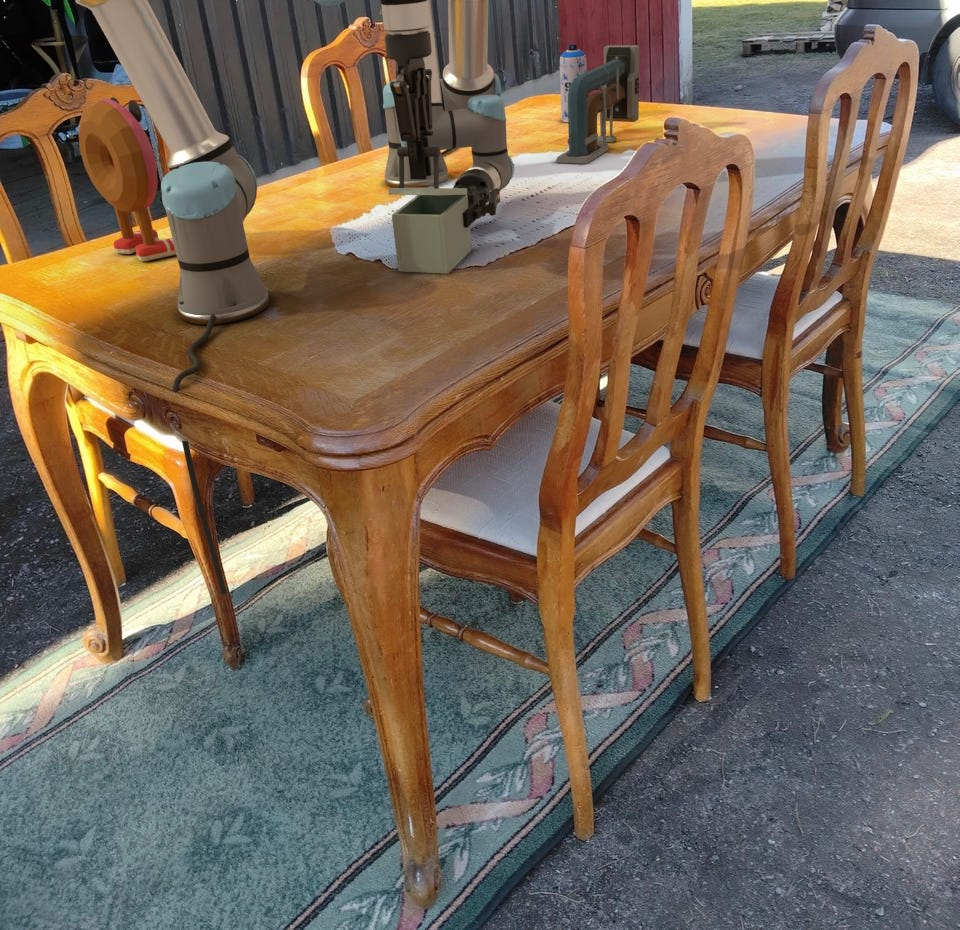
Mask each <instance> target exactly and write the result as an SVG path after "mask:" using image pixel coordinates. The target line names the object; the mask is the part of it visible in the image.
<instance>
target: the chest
mask: <svg viewBox="0 0 960 930" xmlns="http://www.w3.org/2000/svg"><path fill="white" fill-rule="evenodd" d="M467 209H468V197H467V195H415V196H414V197H413V198H411V199H410V200H409V201H408V202H406V203H405V204H404V205H402V207H399V208H398V209H397V210H396V211H394V212H393V213H392V214H391V221H392V222H391V223H392V230H393V238H394V246H395V253H396V262H397V271H398V272H402V273H427V274H449V273H451V271H453V269H455V267H456V266H457V265H459V263H460V262H461V261H462V260H464V258H465V257H467V255H468V254H469V253H470V252H471V251H472V250H473V248H472V237H471V236H472V234H471V225H470V226H469V227H468V228H465V227H464V223H463V212H464V211H465V210H467Z"/></svg>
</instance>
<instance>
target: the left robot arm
mask: <svg viewBox="0 0 960 930" xmlns="http://www.w3.org/2000/svg"><path fill="white" fill-rule="evenodd" d="M74 1H75V3H76V4H77V5H80V6H82V7H85V8H87V9H88V10H90V11H91V12H92V15H93V16H94V18H95V20H96V22H97V23H98V25H99V27H100V29H101V31H102V32H103V34H104V36H105V37H106V39H107V41H108V43H109V44H110V46H111V49H112V51H113V52H114V54H115V56H116V58H117V59H118V61H119V64H120V65H121V67H122V68H123V70H124V72H125V73H126V76H127V77H128V80H129V81H130V83H131V84H132V87H133V88H134V90H135V92H136V93H137V96H138V97H139V99H140V101H141V103H142V105H143V106H144V108H145V110H146V112H147V113H148V116H149V117H150V119H151V120H152V123H153V124H154V126H155V128H156V129H157V132H158V133H159V135H160V137H161V139H162V141H163V142H164V144H165V146H166V148H167V150H168V151H169V157H168V161H167V165H166V166H167V168H168V170H169V172H167V173H166V174H165V175H164V176H163V178H162V180H161V182H160V191H161V200H162V205H163V207H164V209H165V214H166V217H167V221H168V226H169V230H170V234H171V238H173V242H174V246H175V250H176V255H175V256H176V258H177V262H178V266H179V283H178V294H177V310H178V314H179V318H180V319H182V320H183V321H184V322H186V323H189V324H193V325H202V326H203V325H204V326H205V325H206V328H205V331H204V332H203V334H202V335H201V336H200V337H199V338H198V339H196V340H195V341H194V342H193V343H192V344H190V346H189V347H188V349H187V355H188V358H189V359H190V360H191V361H192V363H193V366H192V367H190V368H187V369H184V370H183V371H181V372H180V373H179V374H177V376H175V378H174V380H173V384H172V389H171V391H172V393H177V392H178V391H180V385H181V383H182V381H183V379H185V378H186V377H189V376H190V375H194V374H196V373H197V372H198V371H199V370H200V367H201V361H200V360H199V358H198V357H197V355H196V354H195V350H196V349H197V348H198V347H199V346H201V345H202V344H203V343H204V342H205V341H206V340H207V339H209V337H210V335H211V333H212V330H213V327H214V325H222V324H230V323H233V322H239V321H241V320H245V319H248V318H251V317H253V316H256V315H258V314H260V312H263V311H264V310H265V309H266V308H267V307H268V306H269V305H270V296H269V291H268V289H267V287H266V284H265V283H264V282H263V280H262V278H261V276H260V274H259V272H258V270H257V269H256V267H255V265H254V264H253V262H252V260H251V257H250V251H249V246H248V241H247V236H246V232H245V227H244V222H245V220H246V217H247V216H248V215H249V214H250V213H251V211H252V210H253V207H254V206H255V203H256V199H257V196H258V195H257V194H258V181H257V178H256V173H255V171H254V169H253V168H252V166H251V164H250V163H249V161H247V160H246V159H245V158H244V157H243V156H241V155H240V154H238V151H237V150H236V148H235V147H234V144H233V142H232V141H231V139H230V137H229V136H228V135H226V134H224V133H222V132H219V131H217V130H216V129H215V127H214V125H213V123H212V121H211V120H210V118H209V116H208V113H207V112H206V110H205V108H204V106H203V104H202V103H201V102H202V101H201V100H200V98H199V97H198V95H197V93H196V91H195V89H194V87H193V85H192V83H191V81H190V79H189V77H188V76H187V74H186V72H185V70H184V68H183V66H182V63H181V62H180V60H179V58H178V56H177V54H176V52H175V51H174V49H173V46H172V44H171V43H170V41H169V40H168V38H167V35H166V33H165V32H164V30H163V28H162V26H161V24H160V22H159V20H158V18H157V16H156V14H155V12H154V10H153V9H152V6H151V4H150V3H149V1H148V0H74ZM305 1H306V2H314V3H316V4H319V5H320V6H324V7H337V6H340V5H342V4H344V3H345V2H346V1H347V0H305ZM380 4H381V5H380V6H381V10H380V11H379V15H380V16H381V17H382V25H383V31H386V32H387V33H386V34H385V35H384V46H385V54H386V55H385V56H386V57H387V59H388V60H394V61H395V79H396V81H393V80H391V81H389V82H390V88H391V91H392V94H393V98H394V103H395V109H396V115H397V121H398V127H399V133H400V138H401V141H407V148H408V158H409V168H410V177H411V179H420V180H425V179H427V177H426V176H431V165H430V157H425V156H424V147H429V143H428V137H427V136H432V135H433V131H429V130H432V98H431V79H432V70H431V69H425V63H424V59H423V58H424V57H428V56H429V55H431V53H432V49H431V37H430V33H429V31H427V30H426V28H428V27H429V26H430V22H429V12H428V1H427V0H380ZM181 444H182V448H183V454H184V458H185V463H186V467H187V472H188V475H189V479H190V483H191V487H192V493H193V496H194V500H195V503H196V507H197V510H198V514H199V517H200V522H201V525H202V528H203V532H204V536H205V539H206V543H207V546H208V550H209V554H210V558H211V561H212V564H213V565H212V566H213V568H214V572H215V576H216V579H217V583H218V587H219V590H220V594H221V595H226V594H227V589H226V588H227V587H226V585H225V580H224V577H223V574H222V569H221V566H220V561H219V558H218V554H217V550H216V546H215V543H214V539H213V536H212V533H211V529H210V526H209V525H210V524H209V522H208V517H207V514H206V511H205V507H204V503H203V499H202V495H201V491H200V487H199V484H198V483H199V482H198V479H197V475H196V471H195V466H194V462H193V457H192V454H191V448H190V442H189V440H181Z"/></svg>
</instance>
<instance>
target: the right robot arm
mask: <svg viewBox="0 0 960 930" xmlns="http://www.w3.org/2000/svg"><path fill="white" fill-rule="evenodd" d="M427 1H428V12H429V22H430V26H429V27H428V28H426V30H427V31H429V33H430V37H431V49H432V53H431V55H429V56H428V57H424V58H423V59H424V63H425V69H431V70H432V79H431V98H432V130H429V131H433V135H432V136H427V137H428V143H429V147H440V151H441V153H440V156H439V185H440V184H443V183H445V182H446V181H448V180H449V178H450V176H449V175H450V174H449V169H448V166H447V163H446V160H445V159H444V155H445V154H448V153H449V152H451V151H452V150H454V149H455V150H456V149H464V148H471V155H472V166H471V167H469V168H468V169H467V170H465V171H464V172H463V173H462V174H461V175H459V176H458V177H457V178H456V180H455V183H454V185H453V186H452V188H467V197H468V209H467V210H465V211H464V212H463V223H464V227H465V228H468V227H469V226H470V227H471V225H472V224H473V223H474V222H475V221H476V220H479V219H481V218H482V217H485V216H486V215H487V214H489V216H492V217H493V216H495V215H497V207H498V205H499V204H500V203H501V191H502V190H503V189H505V188H506V187H507V186H508V185H509V184H510V181H511V180H512V179H513V177H514V174H515V164H514V162H513V160H512V158H511V156H510V155H509V150H508V142H507V141H508V140H507V117H506V109H505V101H504V99H503V98H502V97H501V95H502V86H501V81H500V77H499V76H498V74H496V73H494V69H493V67H492V66H491V65H490V64H489V63H488V51H489V50H488V47H489V45H488V44H489V42H488V41H489V0H447V21H448V22H447V23H448V64H447V65H445V66H444V68H443V70H442V78H440V72H439V71H440V70H439V61H438V55H437V46H436V45H437V44H436V38H435V28H434V20H433V10H432V3H431V2H432V1H431V0H427ZM392 81H396V78H395V79H393V80H392ZM390 82H391V81H389V82H388V83H387V84H385V85H384V87H383V89H382V96H383V97H382V99H383V100H382V101H383V104H382V107H383V109H384V116H385V125H386V135H387V142H388V155H387V160H386V166H385V169H384V170H385V171H384V183H385V185H387V187H388V188H399V156H398V154H397V149H398V147H407V141H401V138H400V133H399V127H398V121H397V115H396V109H395V103H394V98H393V94H392V91H391V88H390ZM430 165H431V176H426V177H427V179H425V180H420V179H411V177H410V168H409V158H408V157H404V188H430V187H434V157H430Z"/></svg>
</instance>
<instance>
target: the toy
mask: <svg viewBox="0 0 960 930" xmlns="http://www.w3.org/2000/svg"><path fill="white" fill-rule="evenodd" d="M127 105H128V108H126V107H125V106H123V105H122V104H121V103H120V101H119V100H118V98H116V97H115V96H112V97H110V98H107V97H103V98H101V99H99V100H97V101H95V102H93V103H91V104H89V105H88V106H86V107H85V108H84V109H83V110H82V114H81V116H80V120H79V124H78V146H79V152H80V155H81V156H80V157H81V160H82V163H83V166H84V169H85V171H86V173H87V175H88V177H89V179H90V181H91V184H93V186H94V187H95V189H96V190H97V191H98V193H99V194H100V195H101V196H102V198H104V200H105V201H106V202H107V203H108V204H109V205H111V206H112V207H113V209H114V212H115V215H116V218H117V223H118V226H119V230H120V234H121V237H120V238H118V239H116V240H114V241H113V248H114V252H115V253H117V254H122V255H130V254H134V253H135V254H136V257H137V259H138V260H139V261H141V262H147V261H148V262H149V261H153V260H157V259H164V258H167V257H172V256H177V255H176V250H175V246H174V242H173V238H172V237H169V238H165V239H160V238H159V234H158V232H157V230H156V229H154V228H153V224H152V219H151V215H150V212H149V209H148V208H149V207H150V206H151V205H152V203H153V202H154V200H155V198H156V195H157V190H158V166H157V160H156V157H155V153H154V150H153V147H152V144H151V142H150V140H149V139H150V138H149V137H148V135H147V133H146V131H145V129H144V128H143V126H142V125H141V122H142V119H143V118H142V115H143V113H142V110H141V107H140V106H139V104H138V102H137V101H136V100H134V99H131V100H129V101H128V104H127ZM133 212H135V215H136V219H137V223H138V227H139V229H138V230H136V231H134V230H133V226H132V225H133V224H132V220H131V217H130V213H133Z"/></svg>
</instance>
